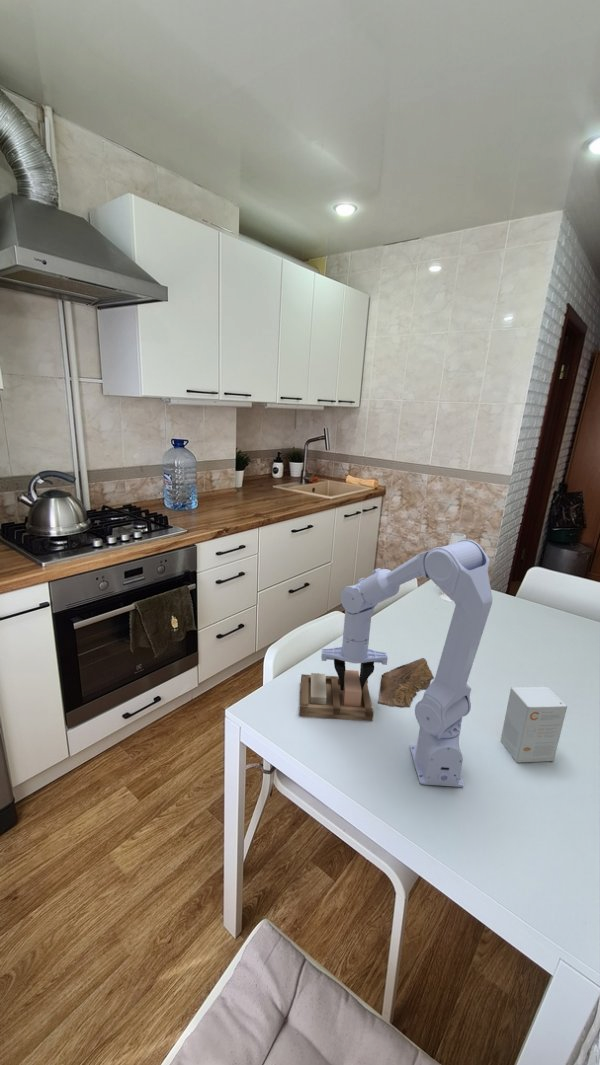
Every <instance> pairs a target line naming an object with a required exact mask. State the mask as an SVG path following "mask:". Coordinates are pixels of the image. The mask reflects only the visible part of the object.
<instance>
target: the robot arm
mask: <svg viewBox="0 0 600 1065" xmlns="http://www.w3.org/2000/svg"><path fill="white" fill-rule="evenodd" d="M490 562H491V560H490V558H489V556H488V555H487V553H486V552H485V551H484V549H483V547H482V546H481V545H480V544H479V543H477V542H476V541H474V540H472V539H467V538H466V540H461V541H459V542H457V543H454V544H450V545H449V544H447V545H444V546H436V547H434V548H432V549H430V550H427V551H424V552H420V553H418V554H417V555H415V556H413V557H412V558H410V559H409V560H407V561H405V562H404V563H402V564H400V565H398V566H397V567H395V568H394V569H393V570H390V569H387V568H382V569H381V568H380V567H377V568H374V570H372V571H371V573H372V574H371V575H368V577H366V578H365V577H361V578H359V579H358V581H357V583H356V584H353V585H347V586H345V588H344V589H342V591H341V593H340V602H341V605H342V607H343V609H344V619H343V620H344V621H343V632H342V633H343V634H342V635H343V636H342V644H341V646H339V647H332V648H321V656H320V657H321V658H320V659H321V662H326V661H328V660H329V661H333V665H334V669H335V670H334V671H335V672H336V674H337V677H339V680H340V690H344V676H345V670H347V669H346V662H347V663H350V664H360V667H359V668H360V670H359V678H360V684H361V690H363V687H364V685H365V683H366V681H367V679H368V680H369V677H370V676H372V674H373V673H374V671H375V663H378V664H380V663H381V664H382V665H386V666H387V665H388V653H387V652H384V651H377V650H374V649H369V644H370V634H371V633H370V632H371V623H372V622H371V621H372V615H373V614H374V610H375V608H376V607H377V606H378V604H380V603H382V602H384V601H386V600H388V599H390V598H392V597H395V596H396V595H398V593H399V591H400V589H401V588H400V587H401V586H402V585H403V584H406V583H408V582H410V581H412V580H415V579H416V578H418V577H421V576H422V578H424V579H429V578H430V580H431V581H432V582H433V583H434V584H435V585H436V586H437V587H438V588H439V589H440V590H441V591H442V592H443V594H446V595H447V596H448V597H449V598H450V599H451V600H452V601H454V602H453V603H454V604H455V605H454V606H455V607H454V609H453V610H454V611H453V613H452V617H451V620H450V624H449V627H448V631H447V635H446V637H445V642H444V645H443V649H442V652H441V656H440V659H439V661H438V662H439V663H438V667H437V670H436V673H435V676H434V678H433V681H432V682H430V686H429V687H428V688H426V690H425V691H424V693H423V696H422V698H421V700H419V701H418V702H417V703H416V704H415V706H414V716H415V719H416V722H417V723H418V725H419V730H418V736H417V743H416V744H410V745H409V749H410V753H411V757H412V761H413V764H414V768H415V771H416V775H417V779H418V782H419V784H421V785H427V786H428V785H429V786H443V787H445V786H446V787H457V788H462V787H464V781H463V779H462V776H461V772H462V767H463V762H464V758H463V754H462V751H461V748H460V735H461V730H462V721H463V717H466V716H467V715H469V713H470V711H471V710H472V709H471V708H472V703H471V697H470V696H471V692H472V688H471V687H470V686H469V684H468V681H469V678H470V674H471V671H472V668H473V665H474V662H475V659H476V655H477V652H478V648H479V646H480V643H481V640H482V636H483V633H484V631H485V626H486V625H487V621H488V618H489V614H490V612H491V608H492V605H493V594H492V588H491V582H490V576H489V572H488V571H489V566H490Z"/></svg>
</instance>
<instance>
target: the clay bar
mask: <svg viewBox="0 0 600 1065" xmlns="http://www.w3.org/2000/svg"><path fill="white" fill-rule="evenodd" d="M359 676H360V671H359V670H353V669H346V670H345V676H344V690H342V700H343V706H345V707H360V705H361V695H362V690H361V684H360V678H359Z"/></svg>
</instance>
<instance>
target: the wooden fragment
mask: <svg viewBox="0 0 600 1065" xmlns="http://www.w3.org/2000/svg"><path fill="white" fill-rule="evenodd" d="M380 678H381V679H380V686H379V687H380V688H379V695H378V702H377V704H378V705H383V706H387V707H390V708H391V707H392V708H395V707H396V708H397V707H398V708H411V704H412V702H413V698H415V697H416V696H417V695H418V693H417V692H419V691H420V690H425V689H426V690H427V688H428V687H429V686H430V684H431V681H432V679H433V680H434V679H435V676H434V675H433V673H432V670H431V669H430V667H429V665H428V661H427V660H426V658H424V657H422V658H419V659H416V660H414V661H411V662H409V663H406V664H402V665H400V666H397V667H395V668H393V669H391V670H389V671H386V672H384V673H383V674H381V677H380Z"/></svg>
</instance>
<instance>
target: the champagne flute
mask: <svg viewBox="0 0 600 1065" xmlns="http://www.w3.org/2000/svg"><path fill="white" fill-rule="evenodd" d="M466 539H467V535H466V534H464V533H462V532H461V533H460V532H452V533H451V535H450V539H449V543H448V545H450V544H454V543H457V542H459V541H461V540H466ZM439 598H440V599H442V600H443V601H445V602H451V603H452V602H453V603H455V602H454V601H452V600H451V599H450V598H449V597H448V596H447V595H446V594H445V593H441V594H440V595H439Z"/></svg>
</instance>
